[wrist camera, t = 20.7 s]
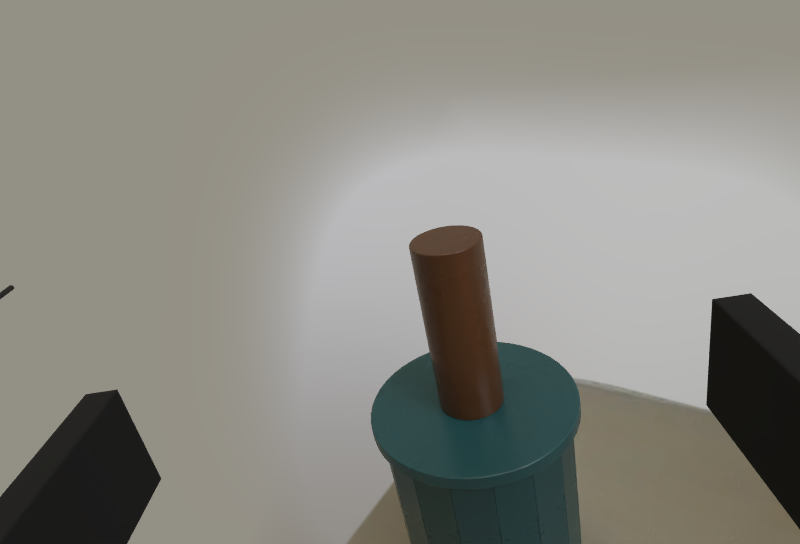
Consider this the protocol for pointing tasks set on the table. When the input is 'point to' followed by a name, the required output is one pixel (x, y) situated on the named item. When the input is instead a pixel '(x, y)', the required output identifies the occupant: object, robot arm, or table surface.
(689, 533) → the table surface
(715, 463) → the table surface
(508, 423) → the lid
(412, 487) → the teal pencil holder
